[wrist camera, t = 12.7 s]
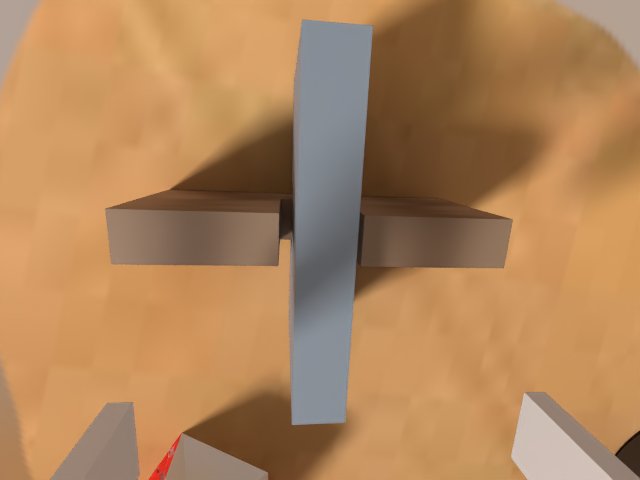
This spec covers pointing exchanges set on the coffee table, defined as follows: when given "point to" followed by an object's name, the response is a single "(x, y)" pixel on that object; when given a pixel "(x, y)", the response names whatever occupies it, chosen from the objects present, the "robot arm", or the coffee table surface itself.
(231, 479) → the red patterned cube
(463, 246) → the walnut slotted upright
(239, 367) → the coffee table surface
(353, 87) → the grey slotted plate
